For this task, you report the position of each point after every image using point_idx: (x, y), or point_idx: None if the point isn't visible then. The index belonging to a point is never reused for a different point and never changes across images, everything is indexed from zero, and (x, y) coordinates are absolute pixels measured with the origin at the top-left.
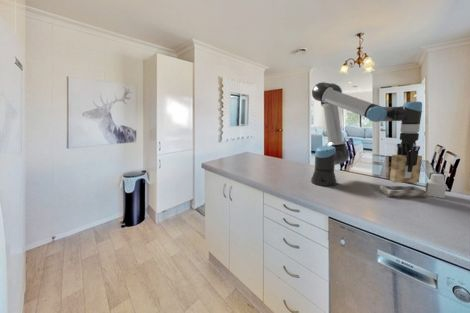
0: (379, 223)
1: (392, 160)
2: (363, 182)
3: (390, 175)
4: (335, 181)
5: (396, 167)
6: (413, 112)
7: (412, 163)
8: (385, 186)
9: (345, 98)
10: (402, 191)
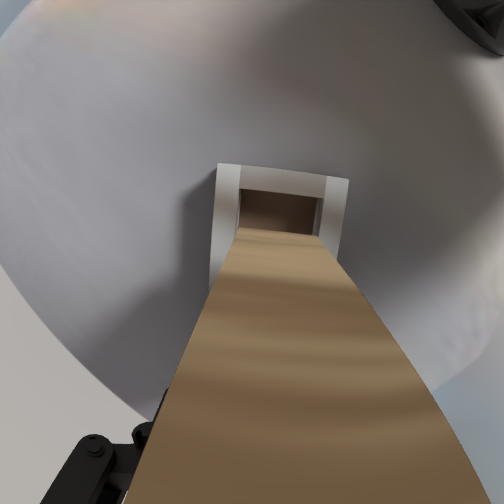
0: (20, 17)
1: (393, 382)
2: (493, 214)
3: (323, 250)
4: (456, 5)
5: (212, 298)
6: None
7: (75, 458)
8: (326, 208)
9: None
10: (211, 258)
